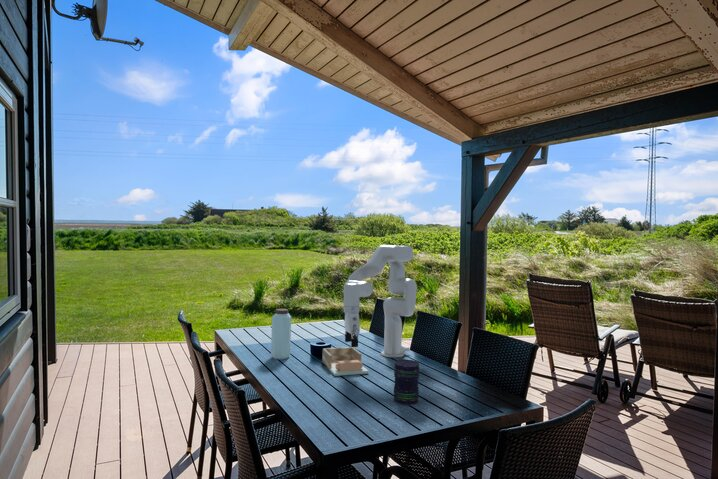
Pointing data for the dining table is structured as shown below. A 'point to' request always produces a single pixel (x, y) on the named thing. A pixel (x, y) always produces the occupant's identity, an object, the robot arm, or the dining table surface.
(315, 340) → the dining table surface
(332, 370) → the tailgate
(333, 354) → the crate
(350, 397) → the dining table surface
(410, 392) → the storage jar
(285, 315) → the water bottle
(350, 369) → the dome-capped square column
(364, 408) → the dining table surface
